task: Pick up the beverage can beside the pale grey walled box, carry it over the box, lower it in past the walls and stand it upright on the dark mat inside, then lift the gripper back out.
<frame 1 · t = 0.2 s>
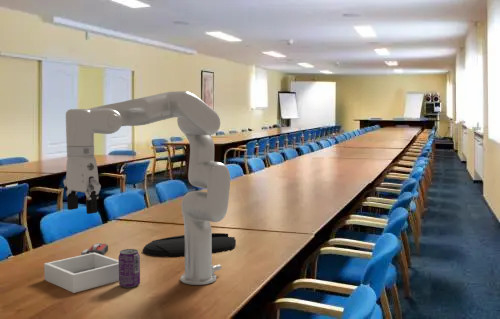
hand: (82, 211, 155), 31 cm above the table, tool pointing down, fingers open, 9 cm apart
walled box: (85, 279, 191), on the table
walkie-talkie: (93, 256, 222), on the table
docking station: (189, 249, 235), on the table
beverage can: (129, 285, 185), on the table
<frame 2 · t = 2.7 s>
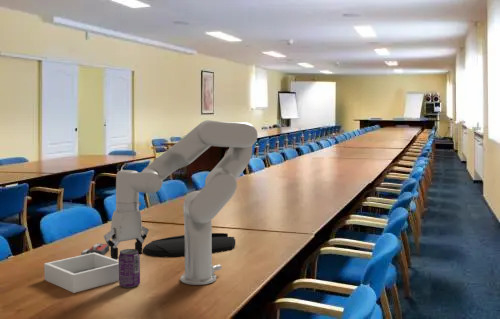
hand: (126, 256, 183), 10 cm above the table, tool pointing down, fingers open, 9 cm apart
nothing on the table moved.
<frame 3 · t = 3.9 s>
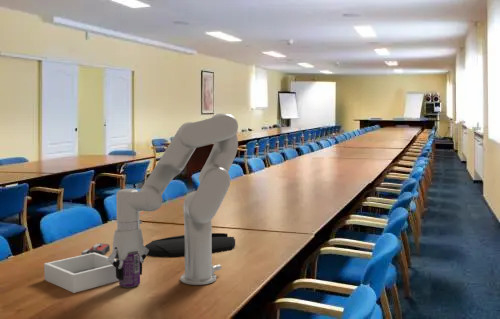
hand: (129, 276, 184), 3 cm above the table, tool pointing down, fingers closed on beverage can, 7 cm apart
beverage can: (129, 285, 185), on the table, touching gripper
everything else where it was.
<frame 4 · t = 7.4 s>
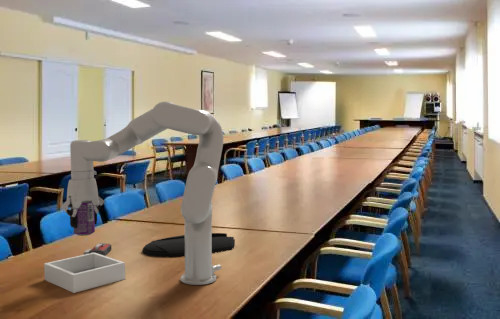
hand: (84, 225, 189), 20 cm above the table, tool pointing down, fingers closed on beverage can, 7 cm apart
beverage can: (84, 234, 189), point 16 cm above the table, touching gripper
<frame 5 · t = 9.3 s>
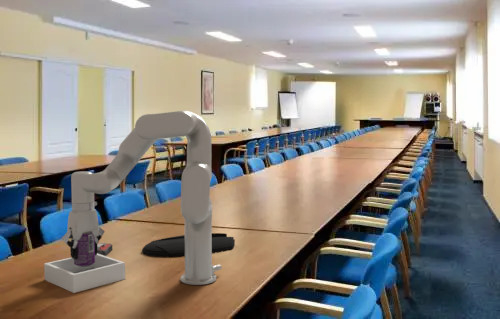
hand: (84, 256, 190), 9 cm above the table, tool pointing down, fingers closed on beverage can, 7 cm apart
beverage can: (84, 265, 190), point 5 cm above the table, touching gripper
when the fingers open (6 cm above the table, at t = 10.9 s): beverage can drops 2 cm, resting on walled box.
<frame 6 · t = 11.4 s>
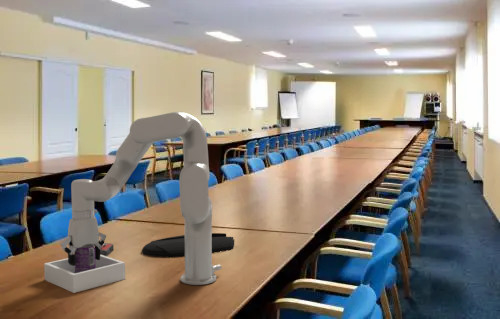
hand: (84, 262, 190), 6 cm above the table, tool pointing down, fingers open, 9 cm apart
beverage can: (85, 278, 191), resting on walled box
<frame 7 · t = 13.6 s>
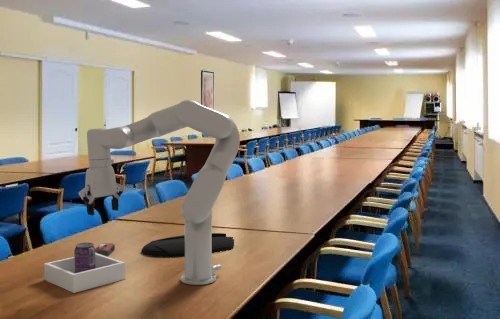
hand: (103, 212, 188), 24 cm above the table, tool pointing down, fingers open, 9 cm apart
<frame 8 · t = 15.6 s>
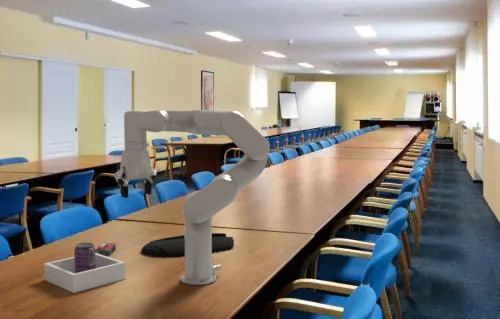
hand: (136, 195, 187), 30 cm above the table, tool pointing down, fingers open, 9 cm apart
at the end: beverage can inside the target area on the walled box (0.2 cm from its centre), point 0.4 cm above the walled box's base; beverage can tilted 0°; the gripper is holding nothing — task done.
